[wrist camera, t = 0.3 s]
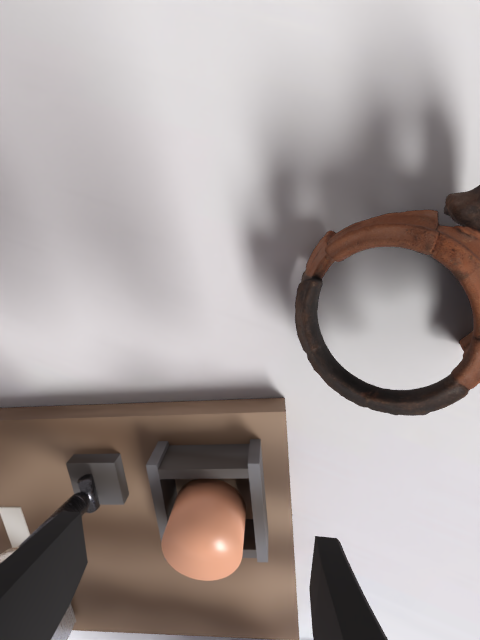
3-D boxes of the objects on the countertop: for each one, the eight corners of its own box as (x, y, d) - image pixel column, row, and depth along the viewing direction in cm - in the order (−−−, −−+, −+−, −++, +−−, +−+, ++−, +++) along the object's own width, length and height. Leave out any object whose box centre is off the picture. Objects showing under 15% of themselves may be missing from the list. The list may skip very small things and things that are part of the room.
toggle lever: (109, 505, 19) (12, 615, 14) (85, 499, 20) (-16, 602, 14) (102, 476, 19) (-2, 580, 13) (78, 471, 19) (-30, 568, 14)
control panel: (297, 615, 24) (301, 678, 21) (12, 605, 27) (-25, 659, 23) (284, 397, 19) (287, 434, 16) (-62, 410, 22) (-122, 443, 19)
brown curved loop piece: (447, 391, 19) (426, 484, 13) (312, 303, 22) (243, 341, 16) (654, 183, 13) (821, 159, 6) (422, 105, 16) (379, 39, 10)
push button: (248, 536, 19) (245, 581, 16) (180, 535, 19) (167, 579, 17) (242, 477, 18) (238, 517, 15) (170, 478, 18) (155, 517, 16)
